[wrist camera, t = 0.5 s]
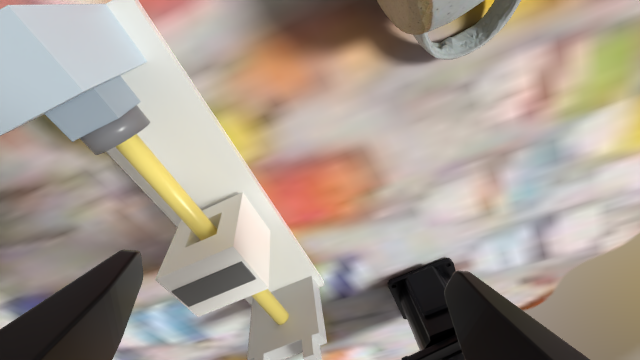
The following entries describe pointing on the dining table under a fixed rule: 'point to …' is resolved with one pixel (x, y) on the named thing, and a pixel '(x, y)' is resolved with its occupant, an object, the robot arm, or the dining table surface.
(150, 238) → the dining table surface
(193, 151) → the cord rig
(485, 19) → the ceramic mug
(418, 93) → the dining table surface
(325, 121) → the dining table surface
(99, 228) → the dining table surface
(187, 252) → the marker sleeve
